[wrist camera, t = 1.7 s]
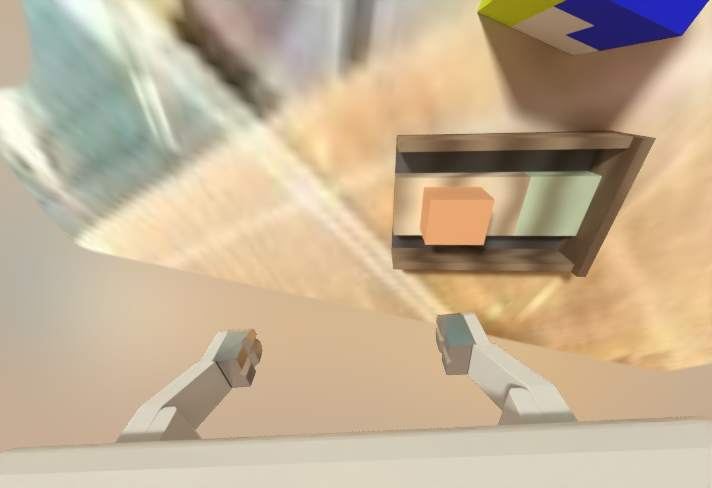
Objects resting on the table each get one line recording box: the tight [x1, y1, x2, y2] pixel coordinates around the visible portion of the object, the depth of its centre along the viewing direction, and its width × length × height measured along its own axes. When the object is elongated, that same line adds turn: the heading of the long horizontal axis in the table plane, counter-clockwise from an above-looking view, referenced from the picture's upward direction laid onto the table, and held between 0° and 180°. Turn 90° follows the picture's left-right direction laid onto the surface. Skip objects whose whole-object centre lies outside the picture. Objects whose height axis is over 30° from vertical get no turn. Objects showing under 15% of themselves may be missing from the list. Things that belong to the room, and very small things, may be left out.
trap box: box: [392, 131, 656, 277], centre depth 30 cm, size 22×15×5 cm
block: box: [420, 187, 495, 245], centre depth 28 cm, size 6×5×4 cm
